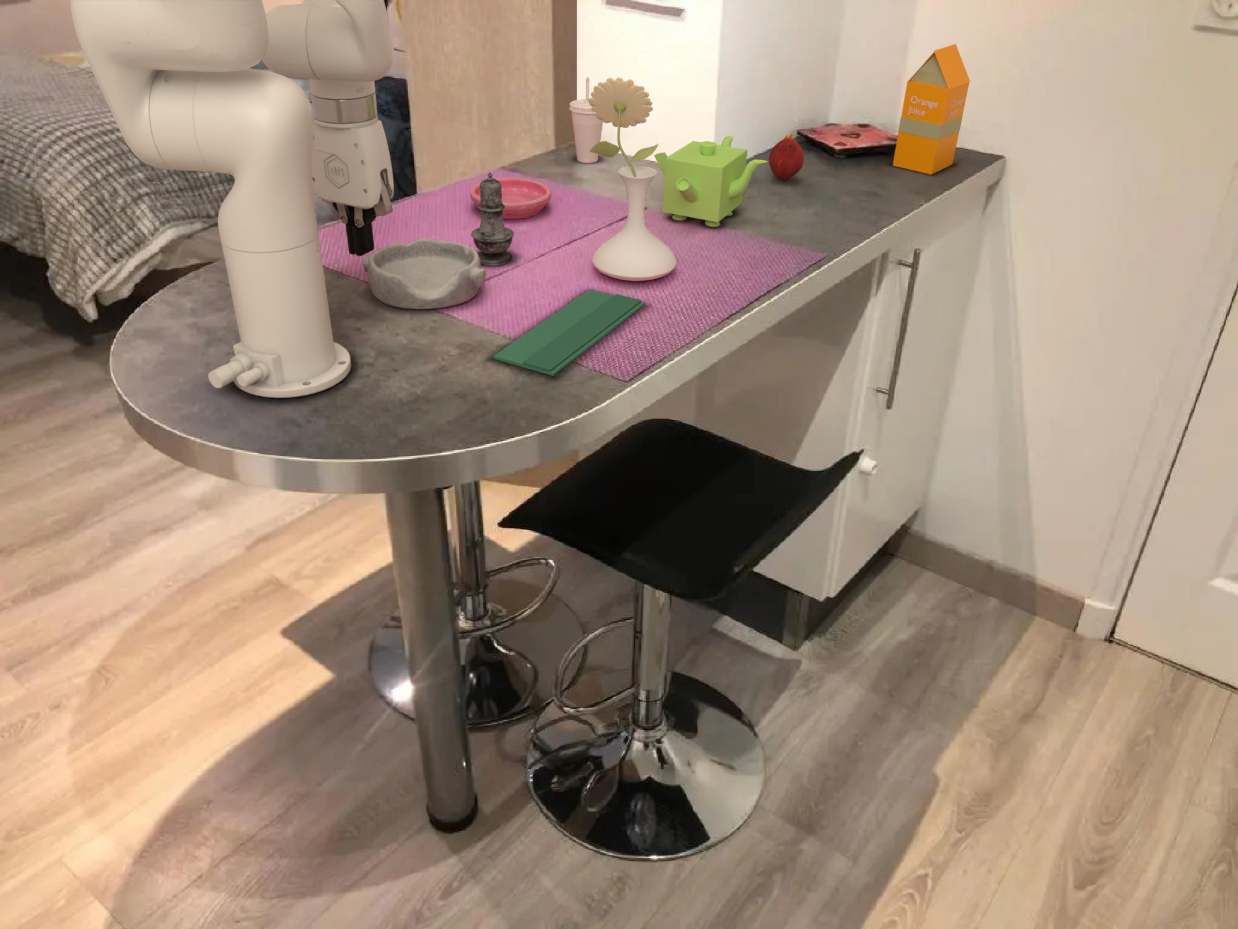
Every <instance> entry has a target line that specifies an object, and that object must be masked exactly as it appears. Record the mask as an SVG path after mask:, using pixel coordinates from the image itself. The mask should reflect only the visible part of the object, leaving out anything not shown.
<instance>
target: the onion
mask: <svg viewBox="0 0 1238 929" xmlns="http://www.w3.org/2000/svg"><path fill="white" fill-rule="evenodd" d="M793 136H794V135H793V134H792V133H791V132H788V133H786V134H785V136H784V138H783V139H782V140H779V141H778V142H777V143H775V145H774V146H773V147H772V148H771V151H770V153H769V156H768V164H769V168H770V170H771V172H772V173H773V174H774V176H775V177H776V178H778V179H779V180H780V181H781V182H786V181H788V180H790V179H792V178H793V177H795V175H797V174H798V173H799V172H800V170H801V169H802V168H803V165H804V163H805V154H804V151H803V149H802V147H801V145H800V144H799V143H798V142H797V141H796V140H795V139H794V138H793Z"/></svg>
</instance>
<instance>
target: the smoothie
mask: <svg viewBox="0 0 1238 929" xmlns="http://www.w3.org/2000/svg"><path fill="white" fill-rule="evenodd" d="M589 98H590V77H585V98H583V99H582V98H581V99H575V100H571V101H570V102H569V108H568V109H569V111H570V112H571V120H572V128H573V136H574V145H575V153H576V160H577V161H578V162H580V163H585V164H591V163H596V162H598V161H599V155H600V154H597V153H592V152H589V151H590V150H591V149H592V147H593V146H594V145H596V144H597V143H599V142H601V139H602V132H603V124H604V122H603V120H600V119H599V118H597V117H596V112H593V111H592V109H591V108H592V106H591V105H590V104H589V102H588V99H589Z"/></svg>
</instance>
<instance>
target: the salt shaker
mask: <svg viewBox="0 0 1238 929" xmlns="http://www.w3.org/2000/svg"><path fill="white" fill-rule="evenodd" d="M493 176H494V175H493V173H491V172H489V173H488V174H487V177H486V178H485V179H483V180H482V182H481V181H480V182H481V183H480V201H481V204H479V205H478V206H477V208H478V209H479V212H480V224H479V227H477V228H475V229H473V230H472V231H471V232H470V236H471V238H472V239H473V243H474V246H475V248H477V249H478V250H479V252H477V253H478V255H479V258H480V263H481V265H484V266H503V265H506V264H509V263H511V262H512V261H513V259H514V257H513V255H512V254H511V253H510V252H508V249H509V248H510V247H511V244H512V242H513V237H514V236H515V232H514V231H513V230H512V229H511V228H509V227H506V226H505V223H504V219H503V209H504V208H505V205H504V204H502V189H501V183H500V182H499V181H498V180H496V179H494V178H495V177H494V178H493Z"/></svg>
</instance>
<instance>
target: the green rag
mask: <svg viewBox="0 0 1238 929" xmlns="http://www.w3.org/2000/svg"><path fill="white" fill-rule="evenodd" d="M644 306H645V303H644V302H642V300H641V299H638V298H635V297H634V298H633V297H630V296H625V295H622V294H618V293H616V294H614V295H613V294H609V293H605V292H601V291H597V290H593V289H588V290H587V291H585V292H584V293H582V294H581V295H579V296H578V297H576V298H575V299H573V300H572V301H571V302H569V303H568V304H566V305H565V306H563V307H562V308H560V309H559V310H557V311H556V312H555V313H553V314H552V315H550V316H549V317H547V318H546V319H544V320H543V321H542V322H540V323H539V324H537V325H536V326H534V327H533V328H532V329H529V331H526V332H525V333H524V334H523V335H521V336H520V337H518V338H517V339H515V340H514V341H512V342H511V343H510V344H509V345H507V346H505V347H504V348H503V349H501V350H499V351H498V352H497V353H495V354H494V355H493V357H492V359H493V360H497V361H499V362H503V363H507V364H510V365H513V366H517V367H519V368H523V369H527V370H529V371H530V370H531V371H534V372H537V373H541V374H544V375H548V376H551V377H554V376H555V375H557V374H558V373H559V372H560V371H562V370H563V369H564V368H565V367H567V366H569V365H570V364H571V363H572V362H574V361H575V360H576V359H578V358H579V357H580V356H581V355H583V353H585V352H586V351H588V350H589V349H590V348H591V347H593V346H594V345H595V344H597V343H598V342H599V341H601V340H602V339H603V338H605V337H606V336H607V335H608V334H609V333H611V332H612V331H614V329H615V330H616V328H617V327H618V326H620V325H621V324H622V323H624V322H625V321H627V320H628V319H629V318H630V317H632V315H635V313H637V312H638V311H639V310H641V309H642V308H643V307H644Z"/></svg>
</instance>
